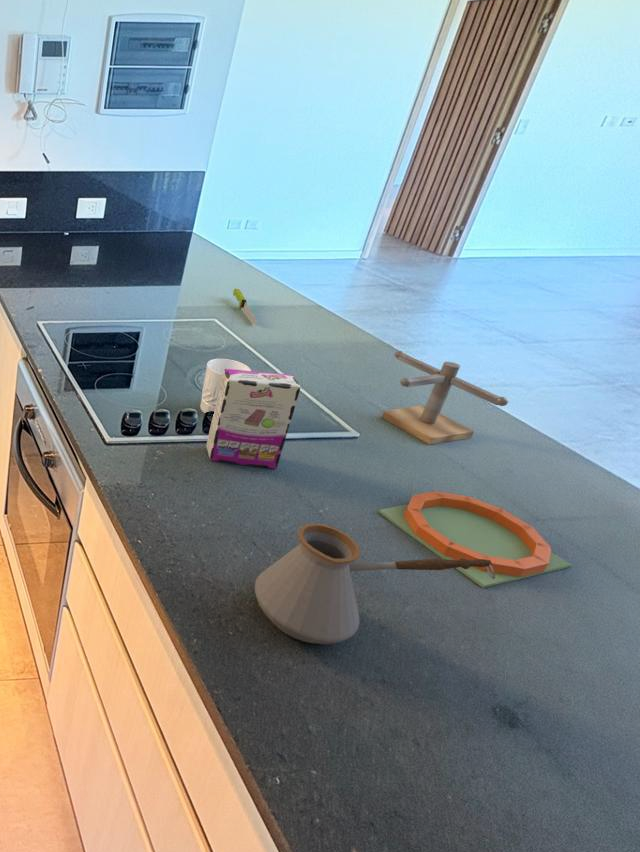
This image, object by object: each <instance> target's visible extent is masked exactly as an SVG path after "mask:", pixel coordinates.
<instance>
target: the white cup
mask: <svg viewBox="0 0 640 852" xmlns="http://www.w3.org/2000/svg"><path fill="white" fill-rule="evenodd" d="M224 369H233V370H244V371H252V369H251V368H250V367H249V366H248V365H247V364H245V363H243V362H241V361H238V360H233V359H230V358H229V359H228V358H213V359H210V360H208V361H207V363H206V368H205V373H204V379H203V383H202V390H201V391H202V392H201V400H200V405H199V408H200V411H201V412H202V413H204V414H205V413H206V412H209V411H214V409H215V405H216V401H217V396H218V392H219V388H220V384H221V379H222V374H223V370H224Z"/></svg>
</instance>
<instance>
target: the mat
mask: <svg viewBox="0 0 640 852" xmlns="http://www.w3.org/2000/svg"><path fill="white" fill-rule="evenodd" d="M408 505H409V503H407V504H403V505H398V506H392V507H388V508H382V509H378V511H377V512H378V514H380V515H381V516H382V517H384V518H385V519H387V521H390V523H392V524H393V525H395V526H396V527H398V528H399V529H401V530H402V531H403V532H405V533H406V534H408V535H409V536H410V537H411V538H413V539H414V540H415V541H417V542H418V543H420V544H421V545H423V546H424V547H425V548H427V549H428V550H430V551H431V552H432V553H434V554H435V555H437V557H439V558H440V559H449V560H455V559H453V558H451V557H448V556H446V555H444V554H442V553H441V552H439V551H438V550H437V549H435V548H434V547H432V546H431V545H430V544H428V543H427V542H426V541H424V540H423V539H421V538H420V537H419V536H417V535H416V534H415V533H414V531H413V530H412V528H411V527H410V525H409V523H408V522H407V520H406V519H405V517H404V513H405V511H406V509H407V507H408ZM420 512H421V514H422V515H423V517H424V518H425V520H426V521H427V523H428V524H429V526H430V527H432V528H433V529H435V530H436V531H438V532H439V533H440V534H442V535H443V536H445V537H446V538H448V539H449V540H451V541H452V542H454V543H456V544H459V545H461V546H464V547H466V548H469V549H471V550H473V551H476V552H478V553H481V554H483V555H487V556H493V557H499V558H505V559H511V560H518V559H522V558H527V557H530V556H531V551H530V549H529V548H528V547H527V546H526V545H525V543H524V542H523V541H522V540H521V539H520V537H519V536H518V535H516V534H515V533H513V532H511V531H510V530H508V529H507V528H505V527H503V526H502V525H500V524H499V523H497V522H495V521H494V520H491V519H489V518H486V517H483V516H481V515H478V514H475V513H473V512H470V511H467V510H465V509H459V508H452V507H446V506H433V507H428V508H423V509H421V511H420ZM572 566H573V564H572V563H570V562H569V561H568V560H566V559H564V558H562V557H560V556H559V555H558V554H555V553H554V552H552V551H551V553H550V559H549V564H548V566H547V567H546V569H545V570H544V572H540V573H536V574H531V575H527V576H523V577H515V576H510V575H504V574H498V573H495V579H492V578H491V577H490V575H489V573H488V572H487V571H482V570H479V569H477V568H475V567H469V568H468V569H463V568H461V567H458V568H455V570H457V571H458V572H460V573H461V574H463V575H464V576H466V577H467V578H468V579H470V580H471V581H472V582H474V583H475V584H477V585H478V586H479V587H481V588H482V589H484V588H489V587H494V586H496V585H502V584H505V583H510V582H514V581H518V580H522V579H526V578H530V577H535V576H539V575H543V574H546V573H552V572H555V571H556V572H557V571H560V570H564V569H569V568H571V567H572ZM490 573H491V575H492V576H493V574H492V572H490Z"/></svg>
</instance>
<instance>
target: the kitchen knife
mask: <svg viewBox="0 0 640 852" xmlns="http://www.w3.org/2000/svg"><path fill="white" fill-rule="evenodd" d="M232 291H233V292H232V295H233V296H235V299H236V301H237V302H238V309H241V310H242V312H243V313H244V314H245V315H246V317H247V318H248V320H249V321H250V322H251V323H252V324H254V325H257V324H258V323H259V322H258V319H256V317H255V315H254V314H253V312H252V311H251V308H250V307H249V306H248V304H247V299H246V297H245V296H244V295H243V294H244V293H242V290H240V288H234V289H233V290H232Z"/></svg>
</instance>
